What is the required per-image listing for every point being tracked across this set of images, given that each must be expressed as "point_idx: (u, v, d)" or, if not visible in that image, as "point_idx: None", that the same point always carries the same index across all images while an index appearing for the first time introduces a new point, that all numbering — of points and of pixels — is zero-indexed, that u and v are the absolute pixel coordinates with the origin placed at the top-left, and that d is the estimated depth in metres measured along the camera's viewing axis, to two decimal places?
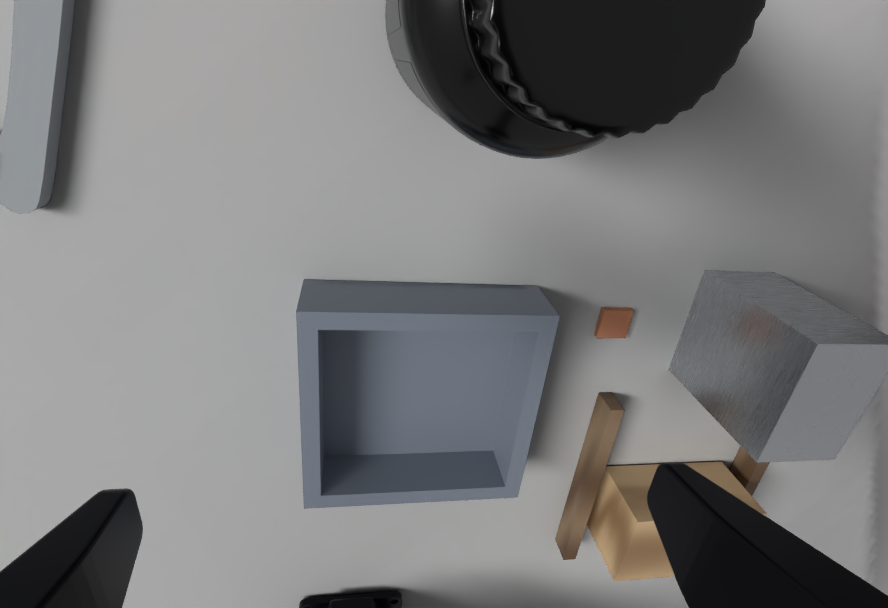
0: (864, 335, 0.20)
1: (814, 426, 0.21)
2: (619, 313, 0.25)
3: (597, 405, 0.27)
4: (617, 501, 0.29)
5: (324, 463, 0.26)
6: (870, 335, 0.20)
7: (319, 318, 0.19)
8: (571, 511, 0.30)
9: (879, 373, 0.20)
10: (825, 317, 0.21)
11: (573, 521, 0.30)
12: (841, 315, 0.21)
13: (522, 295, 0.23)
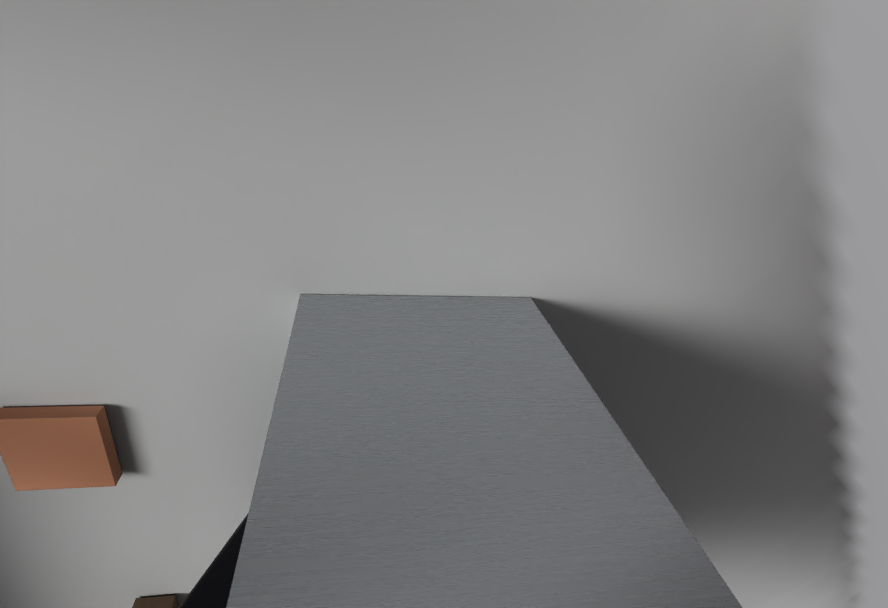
0: None
1: None
2: (49, 425, 0.08)
3: None
4: None
5: None
6: None
7: None
8: None
9: None
10: (529, 539, 0.04)
11: None
12: (628, 510, 0.05)
13: None
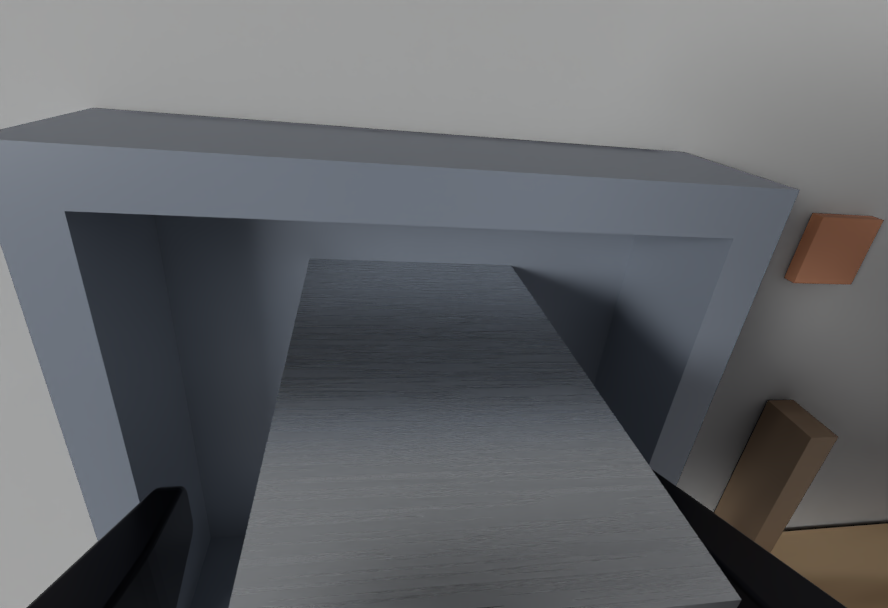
0: (580, 534, 0.04)
1: None
2: (852, 225, 0.11)
3: (765, 425, 0.14)
4: None
5: (207, 556, 0.12)
6: (605, 536, 0.04)
7: (61, 169, 0.06)
8: None
9: None
10: (494, 426, 0.06)
11: None
12: (574, 410, 0.06)
13: (664, 159, 0.09)
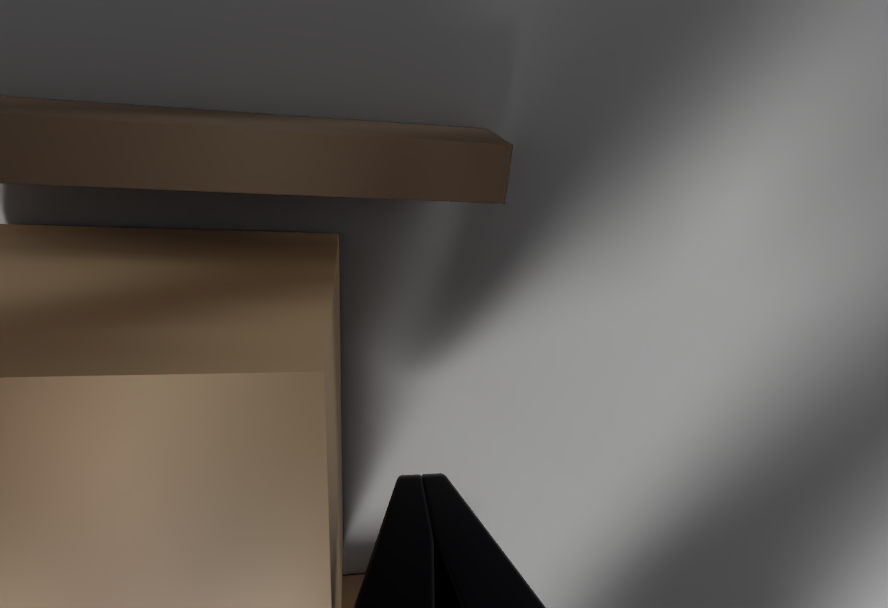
0: None
1: None
2: None
3: None
4: None
5: None
6: None
7: None
8: None
9: None
10: None
11: None
12: None
13: None
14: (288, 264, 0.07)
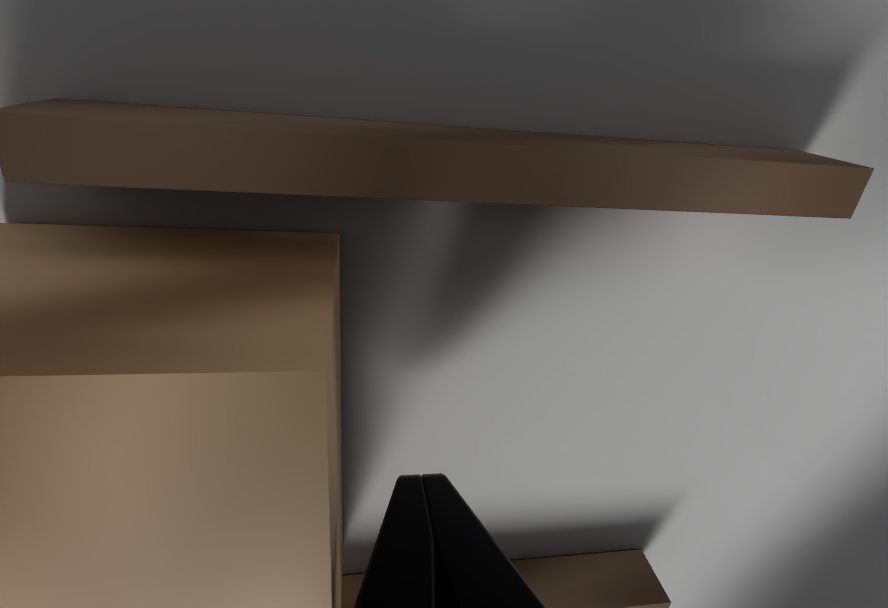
0: None
1: None
2: None
3: None
4: None
5: None
6: None
7: None
8: None
9: None
10: None
11: None
12: None
13: None
14: (288, 264, 0.07)
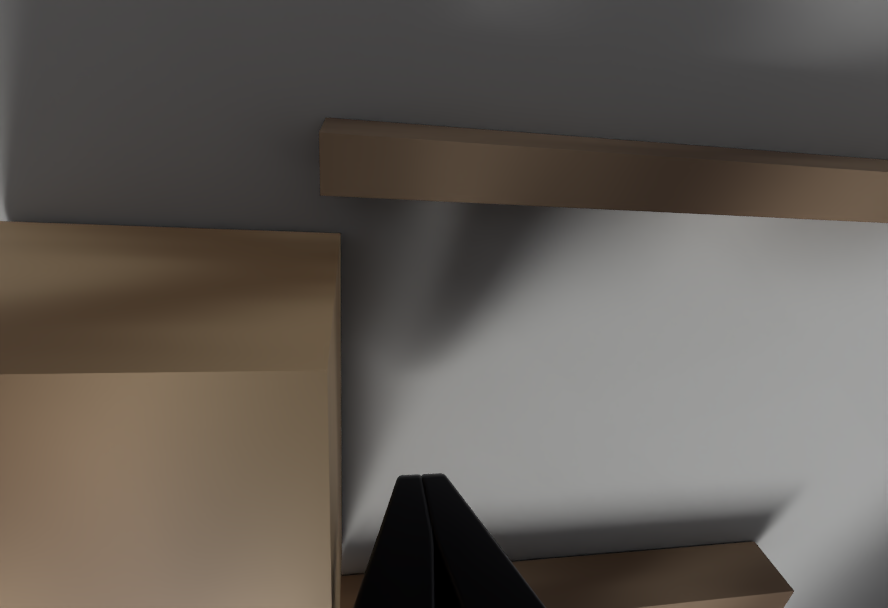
0: None
1: None
2: None
3: None
4: None
5: None
6: None
7: None
8: None
9: None
10: None
11: None
12: None
13: None
14: (290, 263, 0.07)
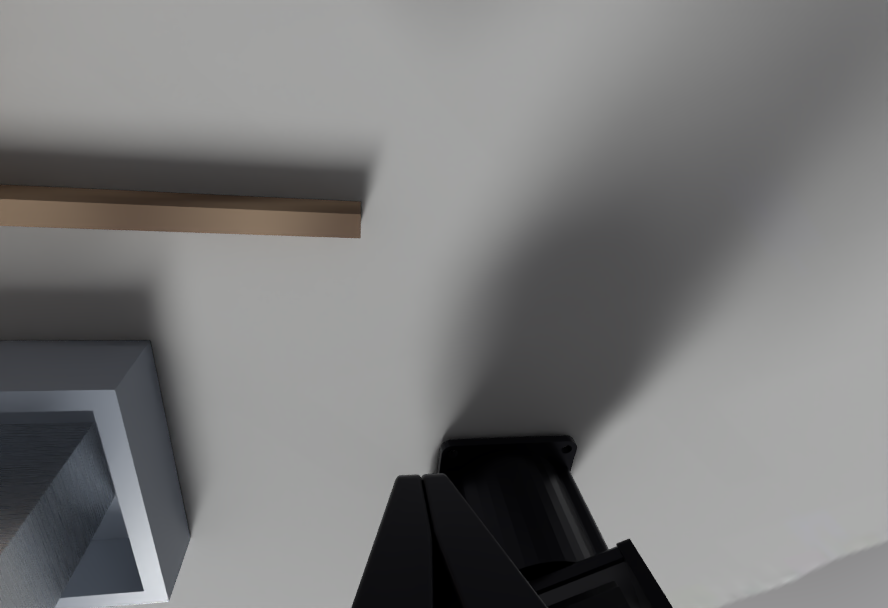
0: None
1: None
2: None
3: None
4: None
5: None
6: None
7: None
8: None
9: None
10: None
11: None
12: None
13: None
14: None
